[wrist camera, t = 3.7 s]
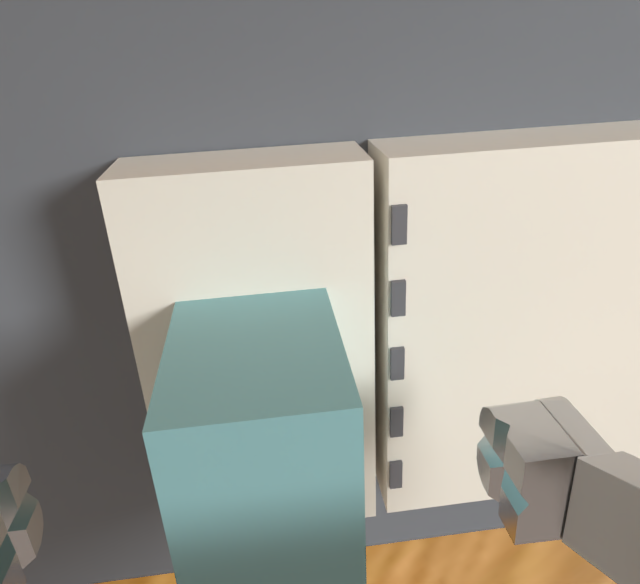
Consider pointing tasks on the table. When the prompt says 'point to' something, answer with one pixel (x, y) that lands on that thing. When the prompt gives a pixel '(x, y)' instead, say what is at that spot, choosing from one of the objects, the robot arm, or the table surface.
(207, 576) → the cube on white base
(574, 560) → the table surface
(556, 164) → the pad
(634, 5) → the desk mat
